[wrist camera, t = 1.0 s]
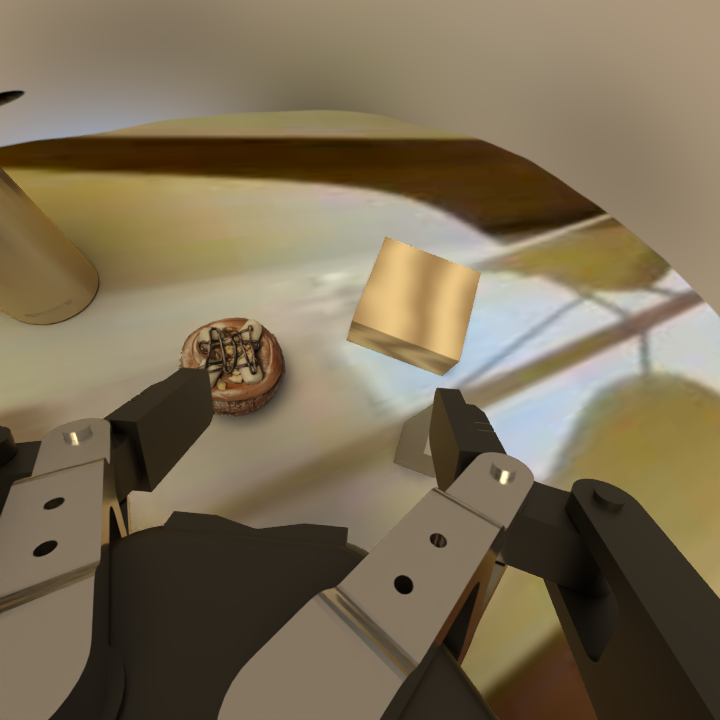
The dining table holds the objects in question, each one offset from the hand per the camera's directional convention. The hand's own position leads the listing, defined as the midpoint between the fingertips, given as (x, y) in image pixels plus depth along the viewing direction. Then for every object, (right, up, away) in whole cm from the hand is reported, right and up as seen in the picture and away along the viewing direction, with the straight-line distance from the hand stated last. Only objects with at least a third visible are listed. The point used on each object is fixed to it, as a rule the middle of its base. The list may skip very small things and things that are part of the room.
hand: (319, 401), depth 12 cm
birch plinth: (+7, +7, +31) cm, 32 cm away
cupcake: (-11, -1, +25) cm, 27 cm away
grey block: (+8, -8, +25) cm, 27 cm away
